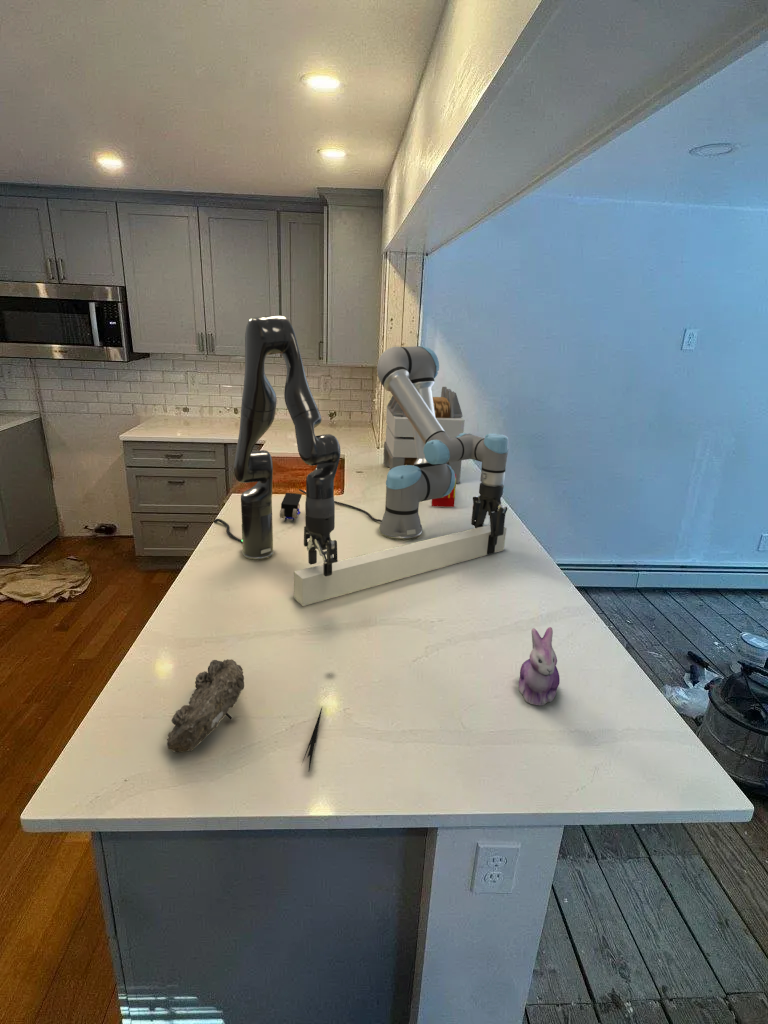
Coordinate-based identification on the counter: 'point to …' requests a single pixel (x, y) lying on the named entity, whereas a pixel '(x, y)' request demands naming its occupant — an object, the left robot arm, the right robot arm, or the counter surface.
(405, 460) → the grey wooden crate
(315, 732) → the feather
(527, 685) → the figurine
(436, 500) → the toy
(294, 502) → the figurine character
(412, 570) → the beam
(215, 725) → the fossil
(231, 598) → the counter surface
